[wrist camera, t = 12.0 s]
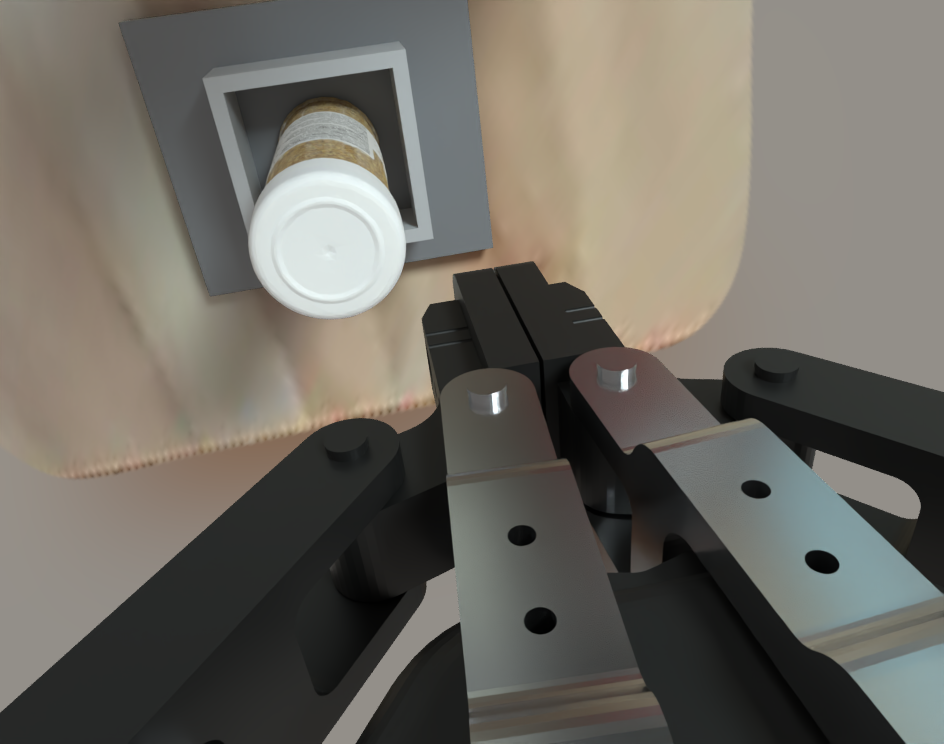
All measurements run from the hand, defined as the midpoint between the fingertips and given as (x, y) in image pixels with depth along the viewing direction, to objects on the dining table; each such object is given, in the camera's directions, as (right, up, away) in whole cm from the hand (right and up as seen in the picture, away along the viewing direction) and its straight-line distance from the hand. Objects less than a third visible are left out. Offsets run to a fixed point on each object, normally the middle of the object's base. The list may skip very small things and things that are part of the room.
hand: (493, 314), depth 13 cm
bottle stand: (-7, +9, +19) cm, 23 cm away
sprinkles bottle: (-7, +9, +19) cm, 22 cm away
